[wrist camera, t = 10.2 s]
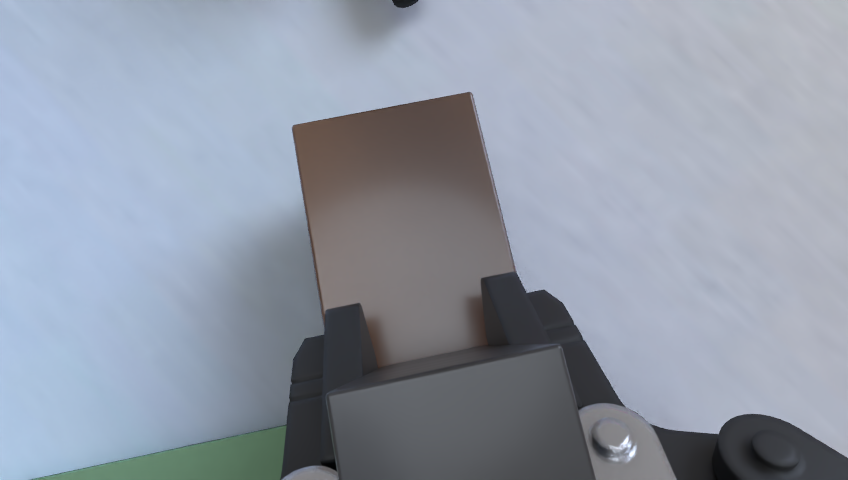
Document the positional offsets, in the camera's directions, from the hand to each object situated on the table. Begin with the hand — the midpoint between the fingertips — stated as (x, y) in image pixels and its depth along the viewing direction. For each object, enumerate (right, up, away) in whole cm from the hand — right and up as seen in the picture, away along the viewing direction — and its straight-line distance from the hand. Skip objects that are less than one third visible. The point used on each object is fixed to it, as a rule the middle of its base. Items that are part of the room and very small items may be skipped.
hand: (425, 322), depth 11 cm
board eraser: (0, -3, +4) cm, 5 cm away
